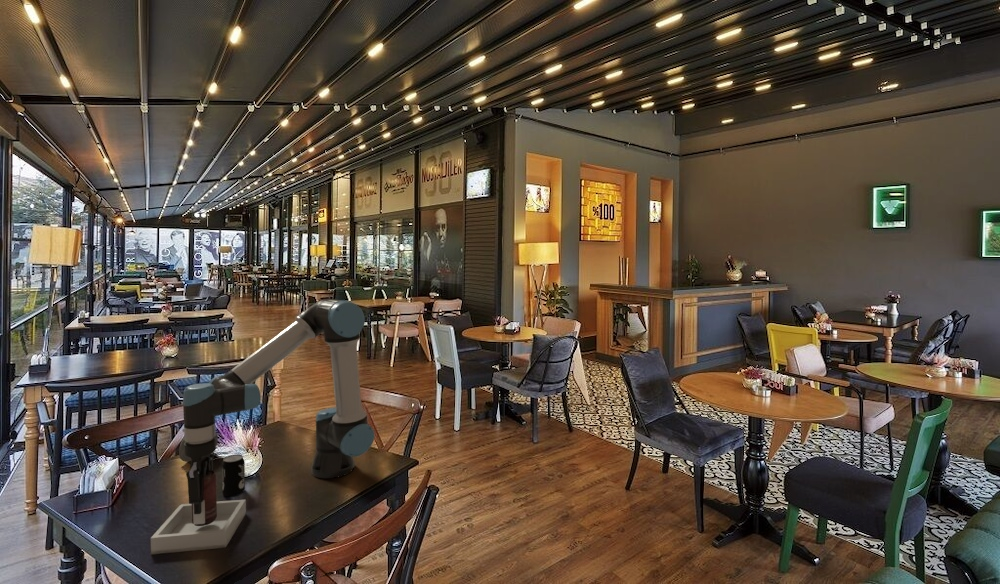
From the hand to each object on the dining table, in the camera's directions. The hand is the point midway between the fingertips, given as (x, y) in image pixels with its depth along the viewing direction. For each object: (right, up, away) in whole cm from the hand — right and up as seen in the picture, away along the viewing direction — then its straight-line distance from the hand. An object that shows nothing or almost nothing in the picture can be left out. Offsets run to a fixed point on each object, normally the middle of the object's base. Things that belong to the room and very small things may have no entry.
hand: (202, 519), depth 139 cm
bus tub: (0, -4, 0) cm, 4 cm away
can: (0, -1, +1) cm, 2 cm away
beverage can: (-4, -2, +24) cm, 24 cm away
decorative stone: (-32, 0, +51) cm, 60 cm away
